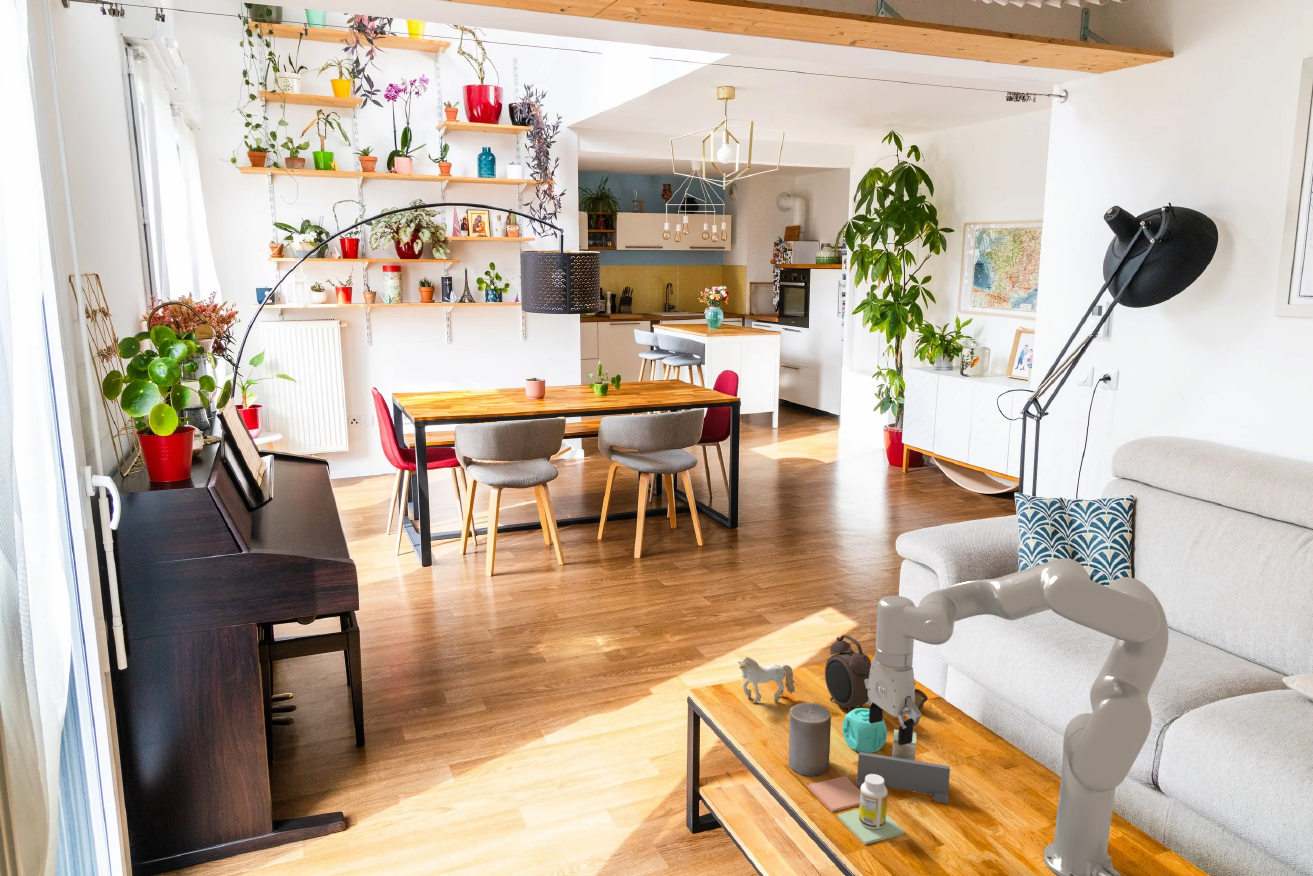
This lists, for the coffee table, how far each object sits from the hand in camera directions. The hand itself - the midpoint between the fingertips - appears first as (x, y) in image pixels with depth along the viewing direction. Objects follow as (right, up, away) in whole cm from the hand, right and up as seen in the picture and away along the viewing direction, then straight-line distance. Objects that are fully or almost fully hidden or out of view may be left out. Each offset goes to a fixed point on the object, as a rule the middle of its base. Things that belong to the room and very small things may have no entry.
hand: (890, 732), depth 186 cm
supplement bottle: (-3, -20, +3) cm, 21 cm away
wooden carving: (+17, -11, +57) cm, 60 cm away
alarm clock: (+2, -11, +54) cm, 55 cm away
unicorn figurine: (-20, -11, +54) cm, 59 cm away
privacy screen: (+7, -18, +16) cm, 26 cm away
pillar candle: (-13, -17, +25) cm, 33 cm away
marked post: (+9, -17, +22) cm, 29 cm away
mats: (-6, -20, +8) cm, 22 cm away
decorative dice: (+3, -15, +35) cm, 38 cm away
